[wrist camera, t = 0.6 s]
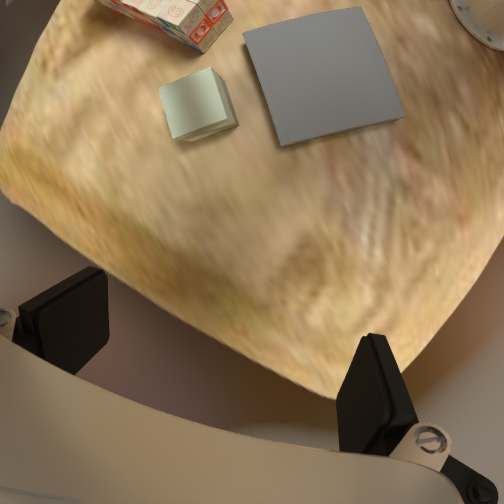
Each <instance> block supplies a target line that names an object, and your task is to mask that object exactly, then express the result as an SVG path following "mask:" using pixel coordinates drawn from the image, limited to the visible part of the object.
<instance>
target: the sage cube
mask: <svg viewBox="0 0 504 504" xmlns="http://www.w3.org/2000/svg"><path fill="white" fill-rule="evenodd" d="M158 90H159V93H160V97H161V100H162V104H163V107H164V111H165V114H166V118H167V121H168V125H169V128H170V132H171V135H172V138H173V139H176V140H182V141H189V142H194V141H196V140H199V139H202V138H204V137H207V136H210V135H213V134H215V133H218V132H221V131H224V130H227V129H230V128H233V127H236V126H239V123H238V120H237V117H236V114H235V111H234V108H233V104H232V101H231V98H230V95H229V92H228V89H227V86H226V83H225V80H224V79H223V78H222V77H221V76H220V75H219V74H218V73H217V72H216V71H215V70H213V69H212V68H211V67H208V68H206V69H203V70H200V71H198V72H195V73H193V74H191V75H188V76H186V77H183V78H181V79H179V80H176V81H174V82H172V83H170V84H167V85H165V86H163V87H161V88H159V89H158Z"/></svg>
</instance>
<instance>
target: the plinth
mask: <svg viewBox="0 0 504 504" xmlns="http://www.w3.org/2000/svg"><path fill="white" fill-rule="evenodd" d="M242 34H243V37H244V40H245V42H246V45H247V48H248V50H249V53H250V56H251V59H252V61H253V64H254V67H255V70H256V72H257V75H258V78H259V81H260V84H261V87H262V90H263V93H264V95H265V98H266V101H267V104H268V107H269V110H270V113H271V116H272V119H273V122H274V126H275V129H276V132H277V135H278V138H279V141H280V144H281V146H282V147H286V146H289V145H293V144H297V143H300V142H304V141H308V140H311V139H315V138H319V137H323V136H327V135H331V134H335V133H339V132H343V131H348V130H352V129H356V128H361V127H365V126H370V125H375V124H379V123H384V122H389V121H394V120H398V119H400V118H403V117H405V115H404V112H403V109H402V106H401V103H400V100H399V97H398V94H397V91H396V88H395V85H394V82H393V80H392V77H391V74H390V72H389V69H388V67H387V64H386V61H385V59H384V57H383V54H382V52H381V49H380V47H379V45H378V42H377V40H376V38H375V36H374V33H373V31H372V29H371V27H370V25H369V23H368V21H367V18H366V16H365V14H364V12H363V10H362V8H361V7H354V8H347V9H340V10H334V11H328V12H323V13H318V14H313V15H308V16H303V17H299V18H295V19H290V20H286V21H282V22H278V23H275V24H271V25H267V26H264V27H260V28H257V29H254V30H251V31H247V32H244V33H242Z"/></svg>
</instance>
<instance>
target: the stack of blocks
mask: <svg viewBox="0 0 504 504" xmlns="http://www.w3.org/2000/svg"><path fill="white" fill-rule="evenodd" d="M95 1H97V2H98V3H100V4H102V5H104V6H106V7H109V8H111V9H113V10H115V11H117V12H119V13H122V14H124V15H126V16H128V17H130V18H133V19H135V20H137V21H141V22H143V23H146V24H148V25H150V26H152V27H155V28H157V29H159V30H161V31H163V32H165V33H167V34H168V35H169V36H171V37H173V38H175V39H177V40H179V41H181V42H183V43H184V44H187V45H189V46H191V47H192V48H194V49H196V50H198V51H200V52H202V53H205V52H206V51H207V50H208V49H209V47H210V46H211V45H212V44H213V42H214V41H215V40H216V39H217V38H218V36H219V35H220V34H221V33H222V32H223V31H224V30H225V29H226V28H227V26H228V25H229V24H230V23H231V22H232V20H233V17H232V15H231V13H230V12H229V10H228V7H227V6H226V4H225V2H224V0H95Z"/></svg>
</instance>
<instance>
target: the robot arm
mask: <svg viewBox="0 0 504 504" xmlns="http://www.w3.org/2000/svg"><path fill="white" fill-rule="evenodd" d="M449 1H450V5H451V7H452V9H453V11H454V13H455V15H456V16H457V18H458V19H459V21H460V22H461V23H462V25H463V26H464V27H465V28H466V29H467V30H468V31H469V32H470V33H471V34H472V35H473V36H474V37H475V38H476V39H477V40H479V41H480V42H482V43H483V44H484V45H486V46H488V47H490V48H492V49H495V50H497V51H504V0H449ZM18 308H19V314H20V316H19V317H17V318H16V314H15V313H14V312H13V311H12V310H10V309H7V308H0V504H497V502H498V491H497V488H496V487H495V485H494V484H493V483H492V482H491V481H490V480H489V479H487V478H486V477H484V476H482V475H481V474H479V473H477V472H476V471H474V470H473V469H471V468H469V467H468V466H466V465H465V464H463V463H461V462H460V461H458V460H457V459H455V458H453V457H452V456H450V455H449V453H450V451H451V447H452V443H451V439H450V437H449V435H448V434H447V433H446V431H445V430H444V429H442V428H441V427H439V426H437V425H435V424H433V423H428V422H420V423H419V421H418V418H417V415H416V412H415V410H414V407H413V404H412V401H411V399H410V396H409V394H408V391H407V388H406V386H405V383H404V380H403V378H402V376H401V373H400V370H399V368H398V365H397V363H396V360H395V358H394V356H393V353H392V351H391V348H390V346H389V343H388V341H387V339H386V337H385V335H379V334H373V333H369V334H368V335H367V336H363V337H362V338H361V340H360V343H359V345H358V348H357V350H356V353H355V355H354V358H353V360H352V362H351V365H350V367H349V370H348V372H347V374H346V377H345V379H344V381H343V383H342V386H341V388H340V390H339V392H338V395H337V399H336V409H337V420H338V434H339V448H340V451H334V450H326V449H318V448H310V447H304V446H297V445H291V444H285V443H279V442H274V441H269V440H263V439H259V438H254V437H250V436H245V435H241V434H237V433H232V432H229V431H225V430H221V429H217V428H213V427H210V426H206V425H203V424H199V423H195V422H192V421H189V420H186V419H183V418H179V417H176V416H173V415H170V414H167V413H164V412H161V411H158V410H156V409H153V408H150V407H147V406H145V405H142V404H139V403H137V402H134V401H131V400H129V399H126V398H124V397H121V396H119V395H117V394H114V393H112V392H109V391H107V390H105V389H102V388H100V387H98V386H96V385H93V384H91V383H89V382H87V381H85V380H83V379H81V378H78V377H76V376H74V375H75V374H76V373H77V372H78V371H79V370H80V369H81V368H82V367H83V366H84V365H85V364H86V363H87V362H88V361H89V360H90V359H91V358H92V357H93V356H94V355H95V354H96V353H97V352H98V351H99V350H100V349H101V348H103V346H105V345H106V344H107V342H108V340H109V335H110V334H109V313H108V278H107V275H105V272H104V271H103V270H102V269H99V268H95V267H92V266H89V267H87V268H85V269H83V270H81V271H79V272H78V273H76V274H74V275H72V276H70V277H69V278H67V279H65V280H63V281H61V282H60V283H58V284H56V285H54V286H53V287H51V288H49V289H47V290H46V291H44V292H42V293H40V294H39V295H37V296H36V297H33V298H32V299H30V300H29V301H27V302H25V303H23V304H22V305H20V306H18Z"/></svg>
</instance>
